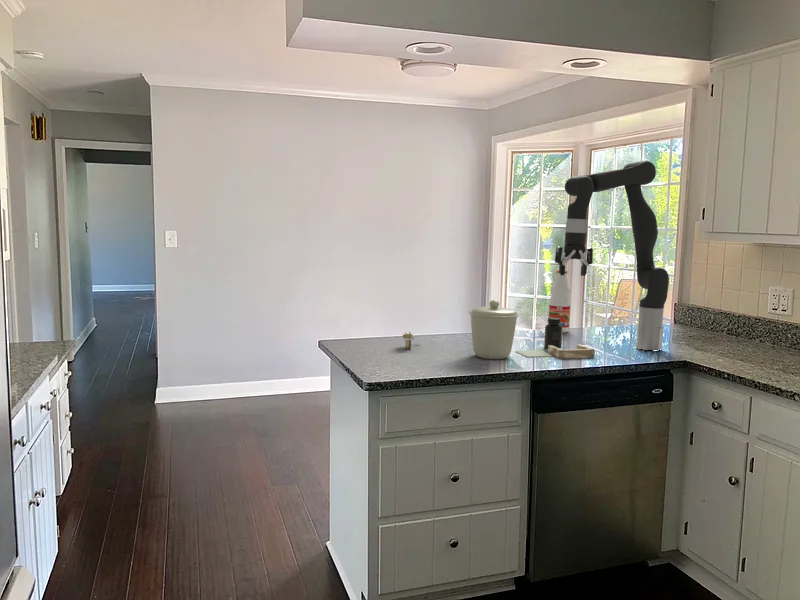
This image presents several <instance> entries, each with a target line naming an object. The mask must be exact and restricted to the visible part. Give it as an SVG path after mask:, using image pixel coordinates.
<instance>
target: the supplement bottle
mask: <svg viewBox="0 0 800 600" xmlns="http://www.w3.org/2000/svg"><path fill="white" fill-rule="evenodd" d="M562 341H563V333H562V326H561V325H560V318H549V317H548V318H547V324H545V327H544V343H543V344H544V345H543V347H544V348H545V349H547V350H548V345H552V346H555V347H557V348H560V349H562V343H563V342H562Z"/></svg>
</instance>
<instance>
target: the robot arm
mask: <svg viewBox="0 0 800 600" xmlns="http://www.w3.org/2000/svg"><path fill="white" fill-rule="evenodd" d="M656 175H657V170H656V166H655V164H654V163H652V162H651V161H649V160H639V161H631V162H630V161H629V162H628V163H625V165H623V168H619V169H610V170H604V171H600V172H595V173H592V174H584V175H576V176H571V177H569V178H568V179H566V181H565V184H564V191H565V193H566V194H567V195H569V196H571V197H575V200H574V201H573V202H570V203H569V204H568V206H567V212H566V213H567V214H566V223H565V229H564V230H565V231H564V233H565V234H564V247H562V246H556V247H555V248H556V249H555V255H554V256H555V257H554V263H556V264H557V265H559V268H558V270H559V273H560V275H565V271H566V264H567V262H568V261H570V260H578V261H579V262H580V264H581V265H580V267H581V268H580V276H582V277H585V276H586V275H587V271H588V266H589V265H593V260H594V259H593V258H594V255H593V254H594V253H593V252H594V248H593V247H586V244H587V242H586V241H587V232H588V231H587V228H588V223H587V221H588V220H587V219H588V208H589V205H590V202H591V199H592V196H593V193H600V192H603V191H608V190H609V191H610V190H611V189H615V188H620V187H623V186H624V189H625V192H626V193H625V194H626V198H627V202H628V207H629V213H630V214H629V215H630V221H631V228H632V236H633V241H634V249H635V257H636V259H635V260H636V278H637V279H636V280H637V283H638V285H639V286H640V287H641V288H643V289H644V290H646V291H647V292H646V295H645V297H643V298H640V299H639V306H638V307H639V308H638V320H637V331H636V333H637V334H636V346H635V349H637V348H639V349H644V350H660V349H661V348H662V349H663V342H664V341H663V340H664V339H663V338H664V327H665V326H663V323H664V322H663V320H664V310H665V309H664V308H665V304H666V302H667V298H668V293H669V285H670V276H669V273H668V271H667V270H666V269H664V268H662V267H656V266H655V263H654V249H655V246H656V243H657V239H658V236H659V230H658V221H657V217H656V215H655V214H656V213H655V212H654V211H653V210H652V208H651V207H650V205H649V204H648V202H647V201H646V199H645V198H644V195H643V191H642V186H644V185H645V186H646V185H649V184H650V183H652V182H653V181H654V180H655V178H656ZM563 253H564V254H563ZM562 254H563V255H562ZM584 254H586V256H585V255H584ZM639 349H638V350H639ZM644 350H643V351H644ZM660 351H661V350H660Z"/></svg>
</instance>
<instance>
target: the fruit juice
mask: <svg viewBox="0 0 800 600" xmlns="http://www.w3.org/2000/svg"><path fill="white" fill-rule="evenodd" d="M555 273H556V276H555V279H554V281H553V283H552V285H551V286H550V298H549V306H548V307H549V308H548V318H560V325H561V326H562V334H563V333H564V334H565V333H568V332H569V331H570V316H571V298H570V296H571V293H572V288H571V286H570V282H569V279H568V270H565V275H560V273H559V269H556V271H555Z"/></svg>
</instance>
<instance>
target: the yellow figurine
mask: <svg viewBox="0 0 800 600" xmlns="http://www.w3.org/2000/svg"><path fill="white" fill-rule="evenodd" d="M402 338H403V340H405V350H409V351H411V350H412V341H414V340H415V338H414V336H413V334H412V333H411V331H410V330H409V333H407V332H406V331H405V333H404V334H402Z"/></svg>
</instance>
